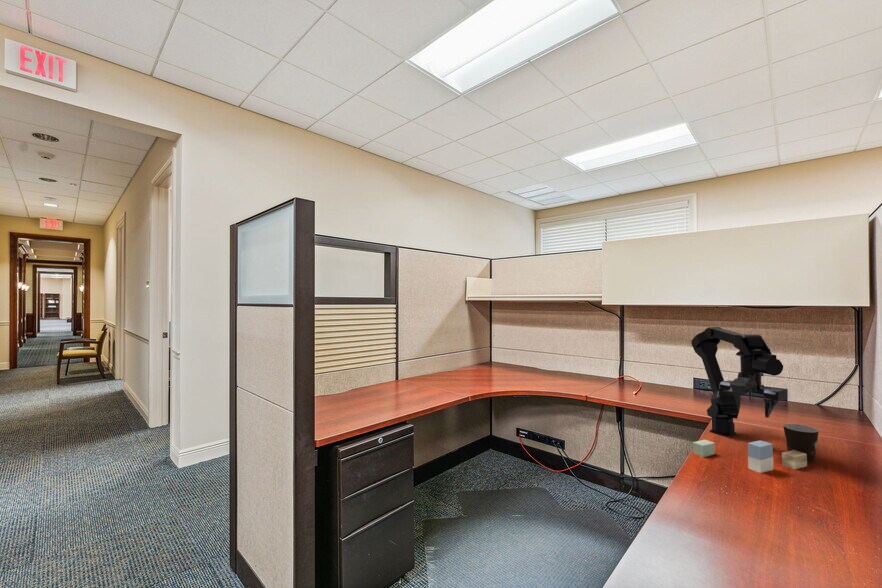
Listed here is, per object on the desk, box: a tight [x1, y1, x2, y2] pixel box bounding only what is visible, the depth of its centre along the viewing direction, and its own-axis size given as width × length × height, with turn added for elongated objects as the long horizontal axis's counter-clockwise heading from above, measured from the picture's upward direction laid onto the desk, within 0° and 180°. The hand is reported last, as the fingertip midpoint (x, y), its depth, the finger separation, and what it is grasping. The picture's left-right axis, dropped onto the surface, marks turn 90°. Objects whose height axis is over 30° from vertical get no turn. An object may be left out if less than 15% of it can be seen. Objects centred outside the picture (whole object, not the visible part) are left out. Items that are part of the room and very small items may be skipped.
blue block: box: [747, 440, 774, 460], centre depth 122 cm, size 4×6×4 cm, turn 111°
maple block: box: [781, 450, 808, 470], centre depth 124 cm, size 4×6×4 cm, turn 110°
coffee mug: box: [782, 423, 820, 463], centre depth 130 cm, size 12×9×10 cm
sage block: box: [692, 439, 716, 458], centre depth 134 cm, size 4×6×4 cm, turn 112°
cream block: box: [747, 455, 774, 474], centre depth 122 cm, size 4×6×4 cm, turn 110°
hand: (752, 414), depth 138 cm, fingers open, 9 cm apart
